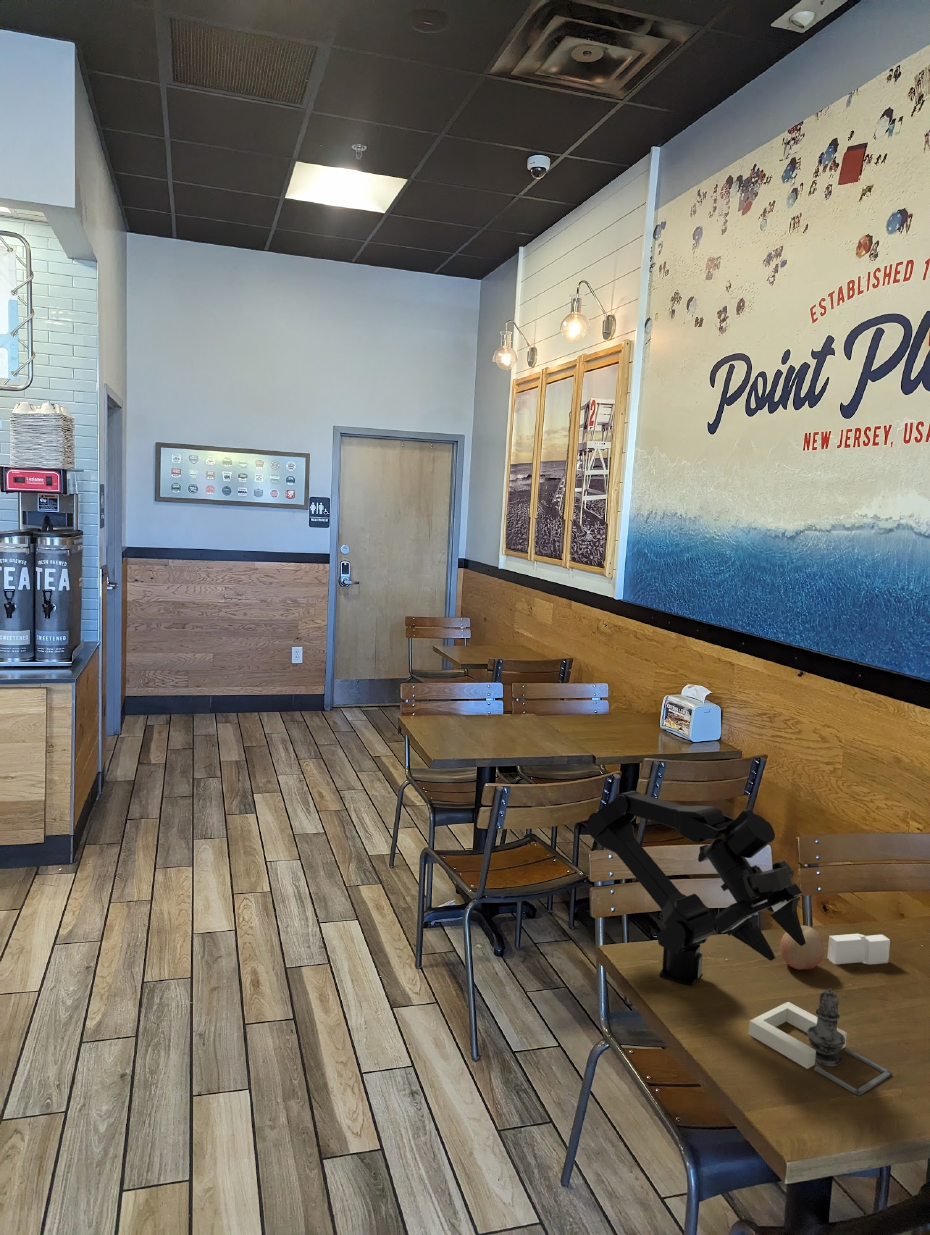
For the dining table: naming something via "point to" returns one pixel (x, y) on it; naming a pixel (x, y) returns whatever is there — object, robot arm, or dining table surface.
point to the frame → (867, 1086)
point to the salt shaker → (827, 1031)
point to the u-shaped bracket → (781, 1041)
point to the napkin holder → (858, 949)
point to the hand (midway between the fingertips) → (788, 952)
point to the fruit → (803, 949)
